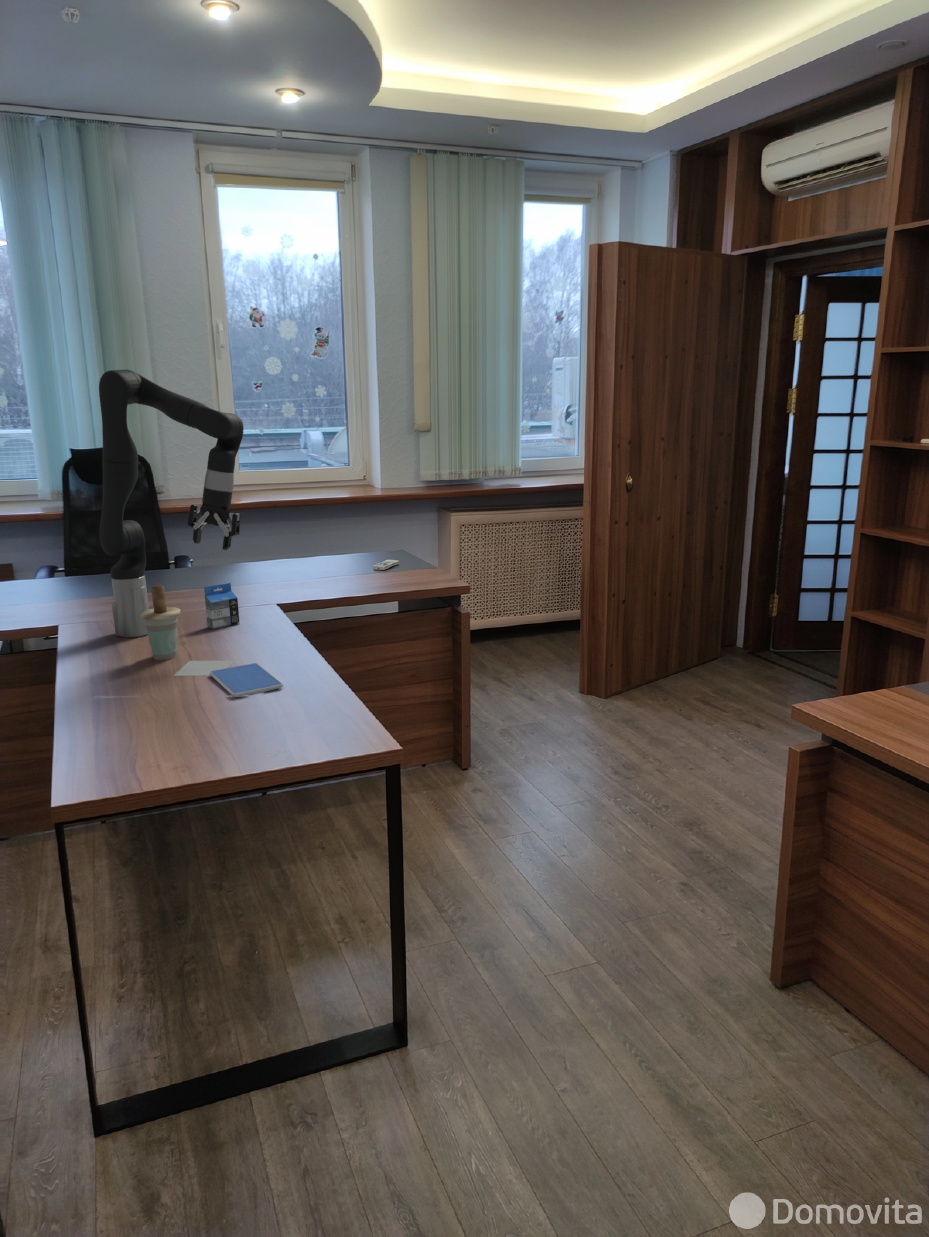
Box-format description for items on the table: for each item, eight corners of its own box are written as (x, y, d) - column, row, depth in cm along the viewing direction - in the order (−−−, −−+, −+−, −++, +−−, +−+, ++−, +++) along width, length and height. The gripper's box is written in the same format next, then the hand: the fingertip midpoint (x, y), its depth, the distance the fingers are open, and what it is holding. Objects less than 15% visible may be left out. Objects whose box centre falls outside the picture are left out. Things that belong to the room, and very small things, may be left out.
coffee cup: (171, 663, 231) (166, 619, 227) (142, 662, 232) (136, 618, 229) (187, 653, 239) (183, 611, 236) (159, 652, 240) (154, 610, 237)
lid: (134, 619, 228) (130, 590, 226) (149, 610, 237) (146, 582, 235) (172, 619, 227) (169, 590, 225) (185, 609, 237) (182, 581, 235)
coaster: (173, 677, 220) (173, 675, 220) (189, 662, 231) (189, 660, 231) (220, 676, 219) (220, 675, 219) (234, 662, 231) (234, 660, 231)
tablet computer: (208, 675, 219) (208, 670, 219) (257, 666, 225) (257, 661, 225) (233, 699, 203) (233, 694, 203) (285, 689, 210) (284, 683, 209)
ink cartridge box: (212, 629, 262) (209, 589, 259) (207, 627, 265) (203, 587, 261) (240, 624, 267) (236, 584, 264) (234, 621, 270) (230, 582, 267)
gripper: (187, 483, 235) (180, 542, 238) (235, 493, 232) (228, 553, 236) (201, 482, 242) (194, 540, 245) (248, 492, 239) (241, 550, 243)
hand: (211, 546), depth 240 cm, fingers open, 8 cm apart
